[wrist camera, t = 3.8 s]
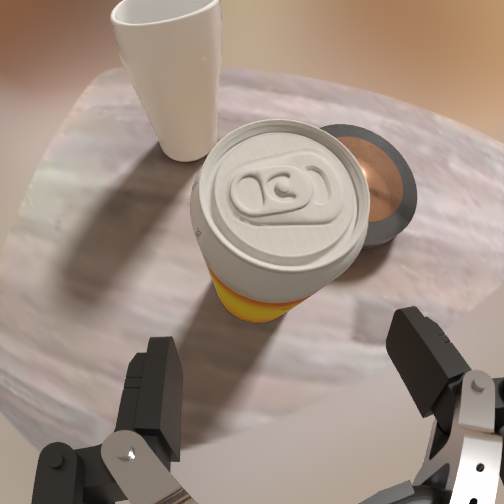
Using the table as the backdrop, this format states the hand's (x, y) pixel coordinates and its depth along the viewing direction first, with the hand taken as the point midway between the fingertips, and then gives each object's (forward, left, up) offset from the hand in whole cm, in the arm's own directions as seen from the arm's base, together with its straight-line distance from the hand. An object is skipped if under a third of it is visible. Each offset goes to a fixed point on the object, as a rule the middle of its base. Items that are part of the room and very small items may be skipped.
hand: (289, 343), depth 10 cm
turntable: (-9, -12, -12) cm, 19 cm away
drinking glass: (+5, -18, -12) cm, 23 cm away
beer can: (0, -5, -12) cm, 13 cm away
